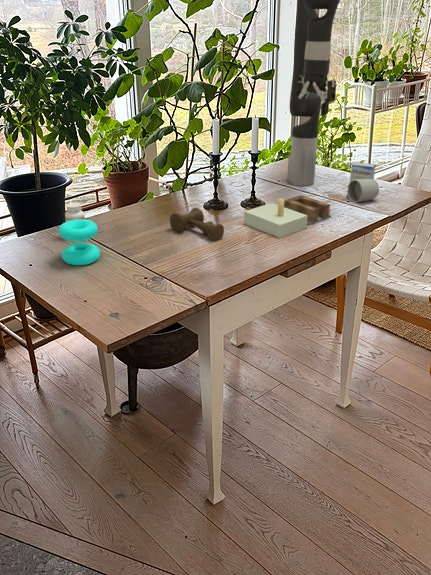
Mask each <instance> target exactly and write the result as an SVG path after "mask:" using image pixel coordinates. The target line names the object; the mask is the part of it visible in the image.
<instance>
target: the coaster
mask: <svg viewBox="0 0 431 575" xmlns="http://www.w3.org/2000/svg"><path fill="white" fill-rule="evenodd" d="M330 218H332V214H329V217H326V218H321V217H319V216H318V221H315V222H309V221H307V226H310V225H314V224H316V223H320V222H322V221H324V220H328V219H330Z"/></svg>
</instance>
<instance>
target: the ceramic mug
mask: <svg viewBox="0 0 431 575" xmlns="http://www.w3.org/2000/svg"><path fill="white" fill-rule="evenodd" d="M379 192H380V186H379V184H378V182H377V181H376V180H375V179H374V180H373V179H355V180H352V181H351V182H350V181H349V183H348V185H347V191H346V194H347V196H348V198H349V200H350V201H351V202H353V203H360V202H361V203H362V202H367V201H371V200H374V199H376V198H378V197H377V196H378V195H379Z"/></svg>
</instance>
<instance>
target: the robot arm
mask: <svg viewBox="0 0 431 575" xmlns="http://www.w3.org/2000/svg"><path fill="white" fill-rule="evenodd" d="M340 2H341V0H297V2H296V3H297V4H296V17H295V28H294V40H293V41H294V43H293V67H292V68H293V70H292V77H291V85H290V86H291V88H290V96H289V113H290V115H291V116H292V117H302V118H303V117H305V118H308V117H309V119H308V120H306V122H303V123H301V124H297V125H295V126H294V127H293V128H292V131H291V142H290V143H291V146H290V147H291V148H290V155H288V158H287V159H288V161H287V176H286V180H287V182H289V183H290V184H291V185H294V186H301V187H304V186H305V187H306V186H312V185H313V184H315V177H316V176H315V175H316V166H317V165H316V163H317V152H318V151H317V150H318V141H319V139H318V138H319V125H320V116H322V117H324V116H325V117H326V116H327V115H328V114H329V105H330V103H331V102H334V101H336V91H337V90H336V89H337V81H336V80H335V79H331V80H329V79H328V75H329V73H330V66H331V65H330V63H331V62H330V61H331V53H332V31H333V30H332V29H333V24H334V20H335V16H336V12H337V11H338V10H337V9H338V7H339V3H340ZM316 10H326V13H325V14H324V15H322V16H321V17H320V16H319V14H318V13H317V11H316Z"/></svg>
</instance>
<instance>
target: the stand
mask: <svg viewBox="0 0 431 575" xmlns="http://www.w3.org/2000/svg"><path fill="white" fill-rule="evenodd" d="M277 200H278V202H277V204H276V203H273V202H271V203H267V204H263V205H260V206H258V207H254V208H251V209H248V210H244V211H243V213H244V214H243V225H246V226H249V227H251V228H253V229H256V230H259V231H261V232H264V233H266V234H269V235H271V236H273V237H275V238H279V239H280V238H283V237H286V236H289V235H292V234H294V233H296V232H299V231H303V230H305V229H307V228H308V225H307V218H308V216H307V215H305V214H302V213H299V212H296V211H293V210H291V209H288V208H285V207H284V200H285V198H284V197H283V198H281V197H280V198H278V199H277Z"/></svg>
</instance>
